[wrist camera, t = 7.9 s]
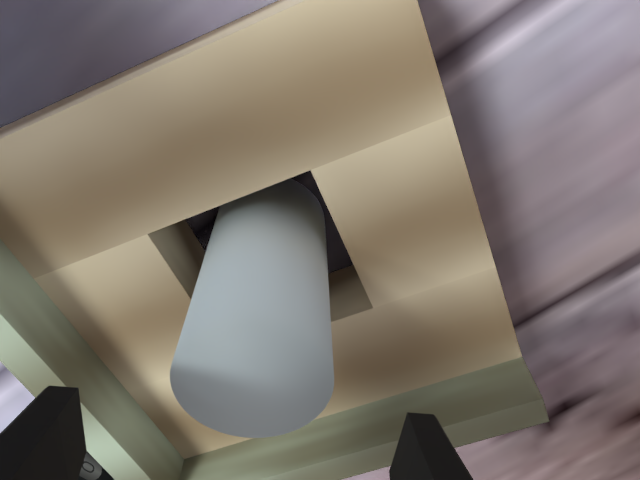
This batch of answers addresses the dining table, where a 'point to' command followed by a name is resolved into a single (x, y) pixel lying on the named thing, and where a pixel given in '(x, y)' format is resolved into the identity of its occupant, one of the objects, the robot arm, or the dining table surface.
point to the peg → (259, 318)
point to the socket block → (235, 182)
